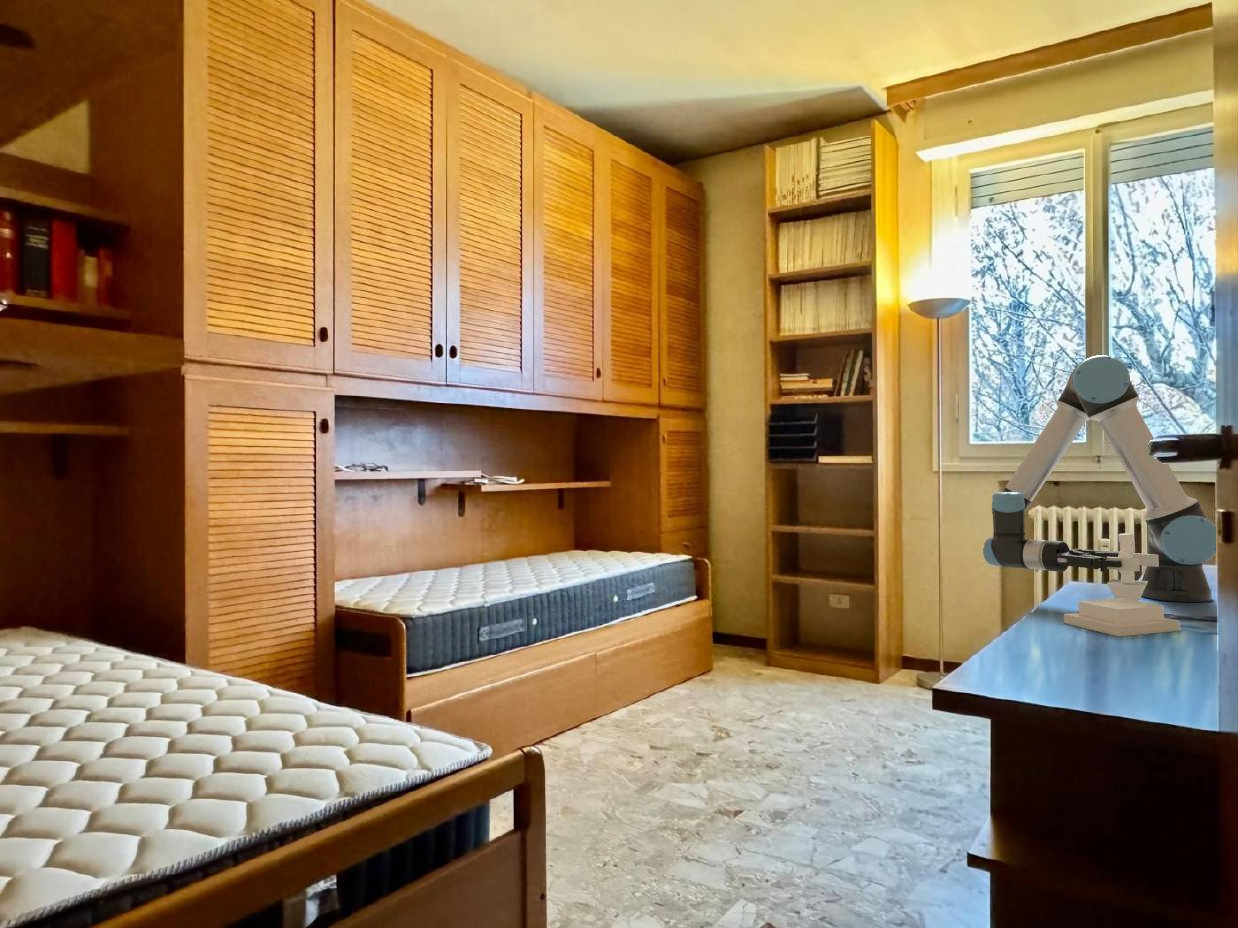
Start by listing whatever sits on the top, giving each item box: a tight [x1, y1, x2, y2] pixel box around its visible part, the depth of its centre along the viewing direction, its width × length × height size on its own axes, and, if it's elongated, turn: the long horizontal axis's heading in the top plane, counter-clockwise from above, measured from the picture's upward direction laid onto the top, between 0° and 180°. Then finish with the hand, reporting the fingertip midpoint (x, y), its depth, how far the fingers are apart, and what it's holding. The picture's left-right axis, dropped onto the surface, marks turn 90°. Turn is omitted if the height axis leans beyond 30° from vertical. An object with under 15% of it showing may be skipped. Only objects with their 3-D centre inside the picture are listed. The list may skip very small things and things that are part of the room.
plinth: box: [1063, 597, 1181, 637], centre depth 172 cm, size 16×14×5 cm
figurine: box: [1106, 532, 1148, 601], centre depth 185 cm, size 7×9×15 cm
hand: (1148, 562), depth 182 cm, fingers closed on figurine, 9 cm apart
